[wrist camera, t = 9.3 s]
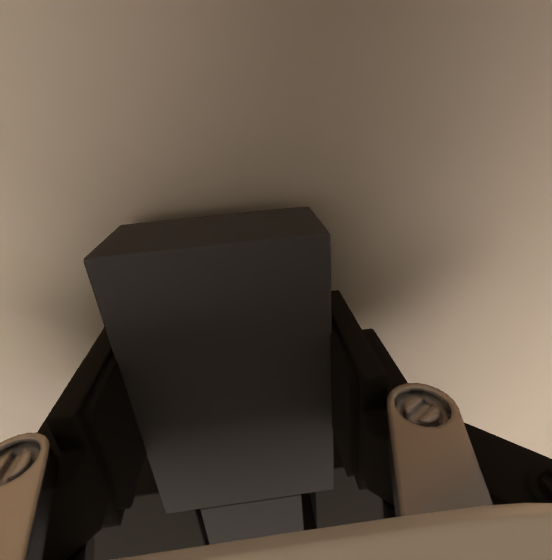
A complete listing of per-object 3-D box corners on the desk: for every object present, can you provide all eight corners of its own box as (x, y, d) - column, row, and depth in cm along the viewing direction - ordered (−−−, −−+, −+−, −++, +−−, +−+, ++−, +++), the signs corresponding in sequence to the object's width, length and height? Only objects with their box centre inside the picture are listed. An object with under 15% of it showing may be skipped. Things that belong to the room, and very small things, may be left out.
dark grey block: (119, 224, 9) (81, 259, 7) (309, 205, 10) (331, 232, 7) (190, 490, 14) (181, 564, 11) (319, 471, 14) (335, 540, 12)
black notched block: (90, 441, 13) (60, 507, 11) (402, 399, 14) (434, 454, 12) (159, 606, 18) (148, 674, 16) (386, 570, 19) (406, 631, 17)
